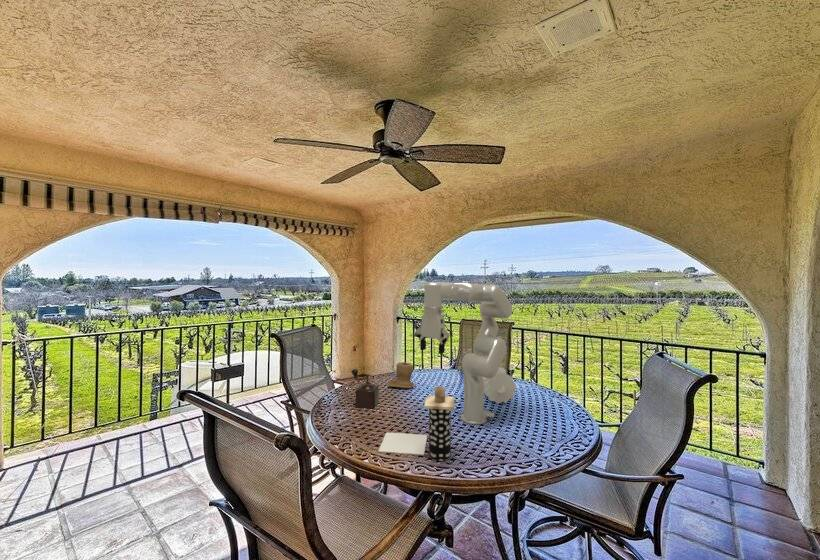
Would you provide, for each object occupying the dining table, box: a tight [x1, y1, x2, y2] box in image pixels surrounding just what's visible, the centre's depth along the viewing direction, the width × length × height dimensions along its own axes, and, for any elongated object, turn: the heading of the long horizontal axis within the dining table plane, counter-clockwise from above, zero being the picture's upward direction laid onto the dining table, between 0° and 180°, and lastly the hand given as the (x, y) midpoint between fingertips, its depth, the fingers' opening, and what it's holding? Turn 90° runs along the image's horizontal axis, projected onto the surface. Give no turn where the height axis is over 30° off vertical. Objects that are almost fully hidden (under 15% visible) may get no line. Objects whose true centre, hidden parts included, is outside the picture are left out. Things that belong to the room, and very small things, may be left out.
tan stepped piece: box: [387, 361, 414, 389], centre depth 211 cm, size 15×12×15 cm
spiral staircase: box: [482, 366, 517, 405], centre depth 192 cm, size 18×18×25 cm
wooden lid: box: [423, 386, 455, 411], centre depth 130 cm, size 11×11×6 cm
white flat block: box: [377, 432, 428, 456], centre depth 139 cm, size 18×16×1 cm
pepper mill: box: [351, 368, 380, 410], centre depth 182 cm, size 16×11×18 cm
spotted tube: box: [428, 409, 452, 462], centre depth 130 cm, size 8×8×20 cm
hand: (432, 351), depth 145 cm, fingers open, 9 cm apart
